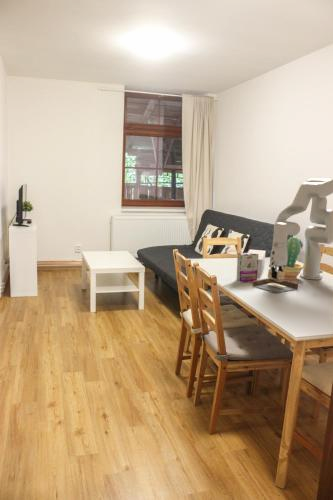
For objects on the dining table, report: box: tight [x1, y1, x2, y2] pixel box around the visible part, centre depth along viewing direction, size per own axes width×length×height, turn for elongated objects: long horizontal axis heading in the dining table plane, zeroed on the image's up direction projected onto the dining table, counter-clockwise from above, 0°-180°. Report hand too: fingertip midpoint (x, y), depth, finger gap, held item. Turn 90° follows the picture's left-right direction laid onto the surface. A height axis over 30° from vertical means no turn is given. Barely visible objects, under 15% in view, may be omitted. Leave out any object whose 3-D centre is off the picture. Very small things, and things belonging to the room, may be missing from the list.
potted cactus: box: [277, 236, 304, 281], centre depth 262 cm, size 15×15×25 cm
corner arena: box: [251, 277, 299, 294], centre depth 241 cm, size 18×17×3 cm
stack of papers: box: [247, 249, 267, 277], centre depth 281 cm, size 32×11×11 cm, turn 164°
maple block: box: [267, 268, 285, 282], centre depth 243 cm, size 8×4×5 cm, turn 37°
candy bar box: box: [236, 252, 258, 283], centre depth 252 cm, size 11×5×16 cm, turn 105°
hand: (276, 277), depth 243 cm, fingers closed on maple block, 4 cm apart
